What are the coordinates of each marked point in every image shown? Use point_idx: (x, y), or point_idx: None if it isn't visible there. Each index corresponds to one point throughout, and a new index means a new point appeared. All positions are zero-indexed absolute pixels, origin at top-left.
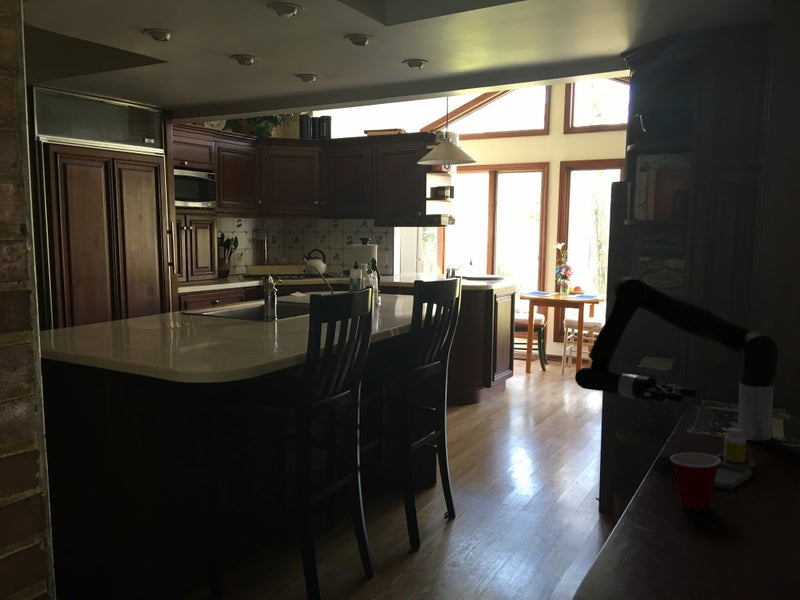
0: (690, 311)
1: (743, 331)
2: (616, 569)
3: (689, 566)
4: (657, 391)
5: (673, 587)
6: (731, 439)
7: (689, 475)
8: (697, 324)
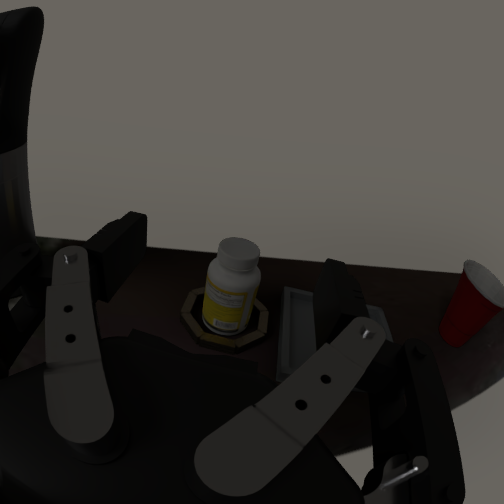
0: None
1: None
2: None
3: (501, 313)
4: (421, 392)
5: None
6: (259, 273)
7: (492, 297)
8: None
